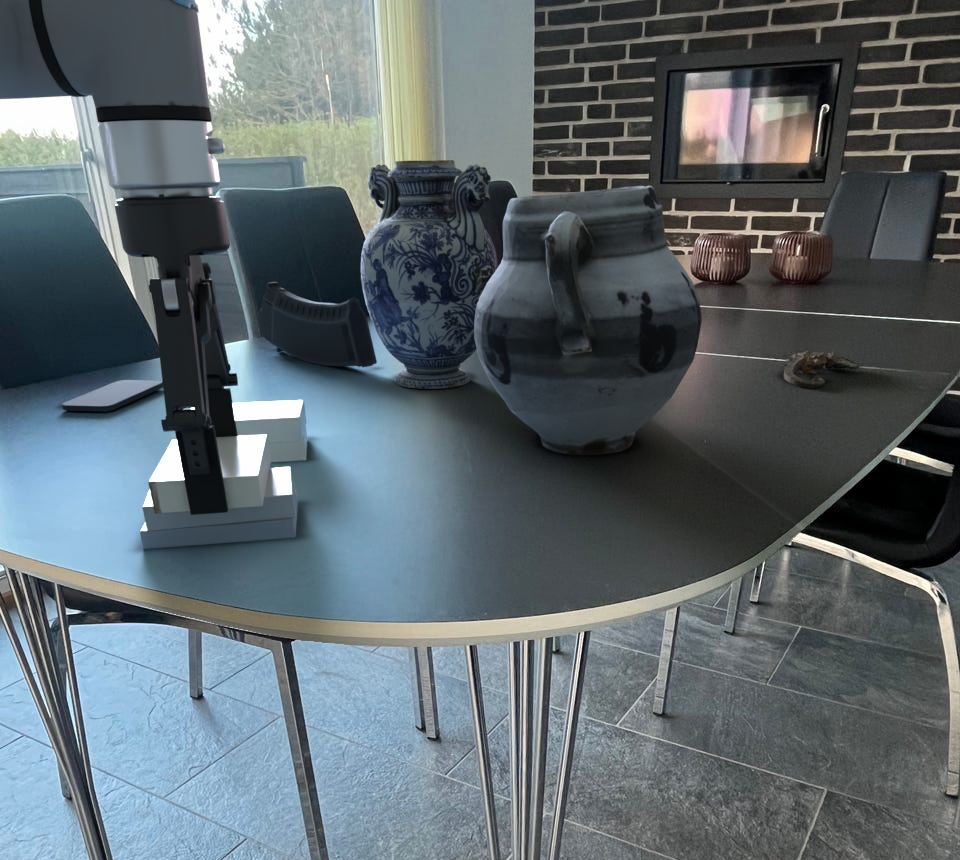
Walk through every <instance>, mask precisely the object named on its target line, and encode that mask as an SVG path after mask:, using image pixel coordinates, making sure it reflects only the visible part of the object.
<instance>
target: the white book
mask: <svg viewBox="0 0 960 860" xmlns="http://www.w3.org/2000/svg"><path fill="white" fill-rule="evenodd" d="M216 439H217V445H218V451H219V457H220V463H221V469H222V475H223V481H224V487H225V493H226V499H227V505H228V509H230V508H245V507H260V506H263V501H264V495H265V490H266V485H267V479H268V474H269V468H271V464H272V462H271V460H270V452H269V445H268V437H267V435H250V436H232V437H216ZM147 483H148V488H149V489H150V493H151V498H152V503H153V508H154V513H155V514H157V513H169V512H184V511H190V508H189V503H188V497H187V492H186V487H185V482H184V476H183V471H182V466H181V460H180V455H179V450H178V445H177V439H176V438H175V439H171V441H170V443H169V445H168V447H167V448H166V451H165V452H164V454H163V456H162V457H161V459H160V461H159V463H158V464H157V466H156V468H155V470H154V471H153V473H152V475H151V476H150V478H149V480H148V482H147Z"/></svg>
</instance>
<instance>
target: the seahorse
mask: <svg viewBox="0 0 960 860" xmlns="http://www.w3.org/2000/svg"><path fill="white" fill-rule="evenodd" d="M785 361H786V362H787V363H784V368H783V369H784V372H783V378H784V380H785V381H786V382H787V383H789V384H792V385H794V386H798V387H800V388H801V387H802V388H807V389H808V388H811V389H813V388H814V389H815V388H821V387H823V386H824V385H825V383H826V380H825V379H823V378H822V377H815V376H816V375H818V372H819V371H820V370H822V369H827V370H829V371H830V370H831V369H837V370H839V369H840V370H841V369H842V370H843V371H844V369H848V368H849V370H858V369H859V368H860V366H859V365H858V364H855V363H854V361H855V360H851V359H849V358H848V356H846V357H845V356H843V355H839V354H836V353H835V351H832V352H829V353H825V351H822V352H816V351H812V350H811V349H810V348H809V349H808V350H806V351H804V352H801V351H799V350H797V353H796V352H795V353H794V354H792V355H788V358H786V359H785ZM817 371H818V372H817ZM797 372H800V373H801V374H802V375H803V376H805V377H807V378H811V379H805V378H801V377H799V376H798V375H795V373H797Z"/></svg>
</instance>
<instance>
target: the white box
mask: <svg viewBox="0 0 960 860" xmlns="http://www.w3.org/2000/svg"><path fill="white" fill-rule="evenodd" d="M297 495H298V494H297V489H295V488H294V481H293V473H292V467H291V466H281V467H270V468H269V474H268V479H267V485H266V490H265V495H264V501H263V506H260V507H245V508H230V509H228V511H227V512H225V513H211V514H198V515H191V513H190V511H184V512H169V513H157V514H155V513H154V508H153V503H152V498H151V493H150V488H149V489H148V492H147V494H146V496H145V500H144V502H143V505H142V507H141V508H142V513H143V517H144V523H143V525H142V526H141V529H140V530H139V535H140V539H141V544H142V549H143V550H149V549H161V548H174V547H176V548H177V547H188V546H201V545H214V544H226V543H240V542H252V541H253V542H254V541H266V540H278V539H280V540H281V539H293V538H296V536H297V521H298V508H299V502H298V496H297Z"/></svg>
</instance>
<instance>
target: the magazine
mask: <svg viewBox="0 0 960 860" xmlns="http://www.w3.org/2000/svg"><path fill="white" fill-rule="evenodd" d="M367 317H368V316H367V314H366V312H365V311H364V310H363V308H362V307H361V303H360V300H359V299H358V298H356V297H350V298H349V299H347V300H346V301H344V302H341V303H333V302H319V301H313V300H309V299H307V298H304V297H301V296H298V295H296V294H294V293H292V292H289V291H288V290H287V289H286V288H283V287H281V286H280V284H279V282H277V281H269V282H267V283H266V291H265V294H264V295H263V297H262V301H261V307H260V309H259V334H260V336H261V337H262V338H264V340H266V341H268V342H269V343H270V344H272V345H273V346H274V347H276V352H277V353H281V352H282V353H283V352H285V353H287V354H288V355H290V356H292V357H293V358H296V359H298V360H301V361H304V362H306V363H311V364H314V365H319V366H326V367H358V368H366V367H372V366H373V365H376V364H377V363H378V361H377V356H376V352H375V348H374V344H373V339H372V334H371V330H370V326H369V322H368V321H369V320H368V318H367Z"/></svg>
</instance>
